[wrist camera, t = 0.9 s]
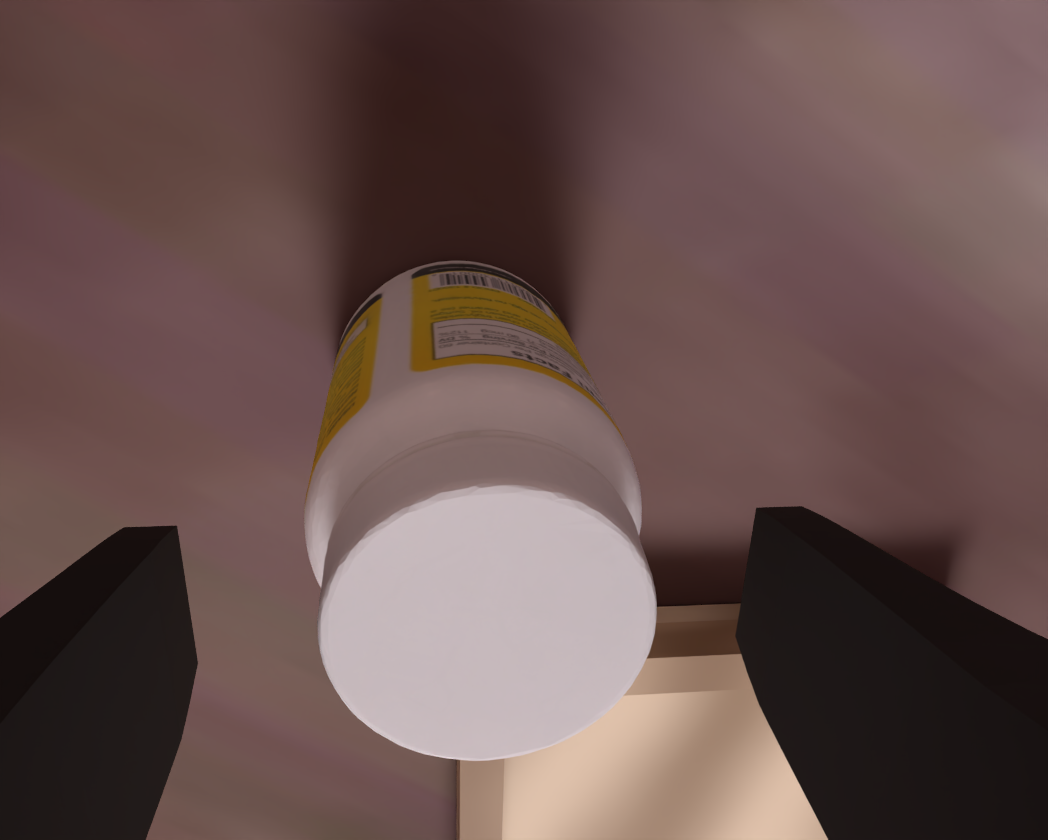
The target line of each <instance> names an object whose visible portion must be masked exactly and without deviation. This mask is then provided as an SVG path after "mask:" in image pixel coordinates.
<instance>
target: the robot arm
mask: <svg viewBox="0 0 1048 840" xmlns="http://www.w3.org/2000/svg"><path fill="white" fill-rule="evenodd" d="M735 637H736V640H737V643H738V646H739V649H740V652H741V655H742V658H743V661H744V664H745V667H746V670H747V673H748V676H749V679H750V682H751V684H752V687H753V690H754V692H755V695H756V698H757V701H758V703H759V706H760V708H761V710H762V712H763V714H764V716H765V718H766V720H767V722H768V724H769V726H770V728H771V730H772V732H773V734H774V736H775V738H776V740H777V742H778V744H779V746H780V748H781V750H782V752H783V754H784V755H785V757H786V759H787V761H788V763H789V765H790V767H791V769H792V771H793V773H794V775H795V777H796V779H797V781H798V783H799V784H800V786H801V788H802V790H803V792H804V794H805V796H806V798H807V800H808V802H809V804H810V806H811V808H812V809H813V811H814V813H815V815H816V817H817V819H818V821H819V823H820V825H821V827H822V829H823V831H824V833H825V835H826V836H827V838H828V840H1048V639H1046V638H1044V637H1042V636H1040V635H1038V634H1036V633H1033V632H1031V631H1029V630H1027V629H1025V628H1023V627H1021V626H1020V625H1018V624H1016V623H1014V622H1012V621H1010V620H1008V619H1006V618H1004V617H1002V616H1000V615H998V614H996V613H994V612H992V611H990V610H988V609H986V608H985V607H983V606H981V605H979V604H977V603H975V602H973V601H971V600H969V599H968V598H966V597H964V596H962V595H960V594H958V593H957V592H955V591H953V590H951V589H949V588H947V587H946V586H944V585H942V584H940V583H939V582H937V581H935V580H933V579H931V578H930V577H928V576H926V575H924V574H923V573H921V572H919V571H917V570H916V569H914V568H912V567H910V566H909V565H907V564H905V563H904V562H902V561H900V560H898V559H897V558H895V557H893V556H892V555H890V554H888V553H886V552H885V551H883V550H881V549H880V548H878V547H876V546H874V545H873V544H871V543H869V542H868V541H866V540H864V539H862V538H861V537H859V536H857V535H856V534H854V533H852V532H850V531H849V530H847V529H845V528H843V527H841V526H840V525H838V524H836V523H834V522H832V521H831V520H829V519H827V518H825V517H823V516H821V515H819V514H817V513H815V512H813V511H811V510H809V509H806V508H804V507H802V506H797V507H765V508H756V513H755V519H754V525H753V531H752V537H751V544H750V550H749V556H748V562H747V568H746V574H745V580H744V586H743V592H742V598H741V605H740V611H739V617H738V623H737V629H736V635H735ZM197 664H198V661H197V654H196V648H195V641H194V635H193V628H192V621H191V615H190V608H189V602H188V595H187V589H186V582H185V575H184V569H183V562H182V556H181V549H180V543H179V536H178V529H177V526H154V527H124V528H122V529H121V530H119V531H118V532H116V533H114V534H113V535H111V536H110V537H108V538H107V539H106V540H104V541H103V542H101V543H100V544H99V545H97V546H96V547H95V548H93V549H92V550H91V551H89V552H88V553H87V554H85V555H84V556H83V557H81V558H80V559H79V560H77V561H76V562H75V563H73V564H72V565H71V566H69V567H68V568H67V569H65V570H64V571H63V572H61V573H60V574H59V575H57V576H56V577H55V578H53V579H52V580H51V581H49V582H48V583H47V584H45V585H44V586H43V587H41V588H40V589H39V590H37V591H36V592H34V593H33V594H32V595H30V596H29V597H28V598H26V599H25V600H24V601H22V602H21V603H20V604H18V605H17V606H16V607H14V608H13V609H12V610H10V611H9V612H7V613H6V614H5V615H3V616H2V617H1V618H0V840H146V837H147V834H148V831H149V829H150V826H151V823H152V820H153V818H154V815H155V812H156V809H157V807H158V804H159V801H160V798H161V796H162V793H163V790H164V787H165V784H166V782H167V779H168V776H169V773H170V770H171V767H172V765H173V762H174V759H175V756H176V753H177V750H178V747H179V744H180V742H181V739H182V734H183V730H184V726H185V721H186V717H187V712H188V708H189V704H190V699H191V694H192V689H193V684H194V679H195V674H196V669H197Z"/></svg>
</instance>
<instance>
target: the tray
mask: <svg viewBox="0 0 1048 840" xmlns="http://www.w3.org/2000/svg"><path fill="white" fill-rule="evenodd" d="M740 605H741V603H738V604H715V605H691V606H667V607H657V616H656V627H655V635H654V638H653V642H652V646H651V649H650V652H649V654H648V656H647V659H646V661H645V663H644V665H643V667H642V669H641V671H640V672H639V674H638V676H637V677H636V679H635V681H634V682H633V684H632V686H631V687H630V688H629V689H628V691H627V692H626V693H625V694H624V695H623V697H622V698H621V699H620V700H619V701H618V702H617V703H616V704H615V705H614V706H613V708H612V709H610V710H609V711H608V712H607V713H606V714H605V715H604V716H602V717H601V718H600V719H598V720H597V721H596V722H594V723H593V724H592V725H590V726H589V727H587V728H586V729H584V730H583V731H581V732H580V733H578V734H576V735H574V736H572V737H570V738H568V739H566V740H565V741H563V742H560V743H558V744H555V745H553V746H550V747H547V748H545V749H541V750H538V751H535V752H532V753H529V754H525V755H521V756H516V757H510V758H504V759H496V760H486V761H468V760H457V815H456V840H828V838H827V836H826V835H825V833H824V831H823V829H822V827H821V825H820V823H819V821H818V819H817V817H816V815H815V813H814V811H813V809H812V808H811V806H810V804H809V802H808V800H807V798H806V796H805V794H804V792H803V790H802V788H801V786H800V784H799V783H798V781H797V779H796V777H795V775H794V773H793V771H792V769H791V767H790V765H789V763H788V761H787V759H786V757H785V755H784V754H783V752H782V750H781V748H780V746H779V744H778V742H777V740H776V738H775V736H774V734H773V732H772V730H771V728H770V726H769V724H768V722H767V720H766V718H765V716H764V714H763V712H762V710H761V708H760V706H759V703H758V701H757V698H756V695H755V692H754V690H753V687H752V684H751V682H750V679H749V676H748V673H747V670H746V667H745V664H744V661H743V658H742V655H741V652H740V649H739V646H738V643H737V640H736V637H735V635H736V629H737V623H738V617H739V611H740Z"/></svg>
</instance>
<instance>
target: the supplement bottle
mask: <svg viewBox="0 0 1048 840" xmlns="http://www.w3.org/2000/svg"><path fill="white" fill-rule="evenodd" d="M641 518H642V504H641V491H640V484H639V481H638V477H637V473H636V469H635V466H634V463H633V459H632V456H631V454H630V452H629V450H628V448H627V445H626V443H625V441H624V439H623V437H622V435H621V433H620V431H619V429H618V427H617V426H616V424H615V421H614V419H613V417H612V416H611V414H610V412H609V410H608V408H607V406H606V404H605V403H604V401H603V399H602V397H601V395H600V393H599V391H598V389H597V387H596V385H595V383H594V381H593V379H592V378H591V376H590V374H589V372H588V370H587V368H586V366H585V364H584V362H583V360H582V358H581V356H580V355H579V353H578V351H577V349H576V347H575V345H574V343H573V341H572V340H571V338H570V336H569V334H568V332H567V330H566V328H565V326H564V324H563V322H562V321H561V319H560V317H559V315H558V314H557V313H556V311H555V310H554V309H553V307H552V306H551V305H550V303H549V302H548V301H547V300H546V299H545V298H544V297H543V296H542V295H541V294H540V293H539V292H538V291H537V290H536V289H535V288H533V287H532V286H531V285H529V284H528V283H526V282H525V281H524V280H522V279H521V278H519V277H517V276H515V275H513V274H512V273H510V272H507V271H505V270H503V269H500V268H497V267H495V266H491V265H487V264H483V263H478V262H471V261H443V262H435V263H431V264H426V265H423V266H419V267H416V268H413V269H411V270H408V271H406V272H404V273H402V274H400V275H397V276H396V277H394V278H393V279H391V280H389V281H388V282H386V283H385V284H383V285H382V286H381V287H380V288H379V289H377V290H376V291H375V292H374V293H373V294H371V295H370V296H369V297H368V298H367V300H366V301H365V302H364V303H363V304H362V305H361V306H360V307H359V308H358V310H357V311H356V312H355V314H354V315H353V317H352V318H351V320H350V321H349V323H348V325H347V327H346V329H345V331H344V333H343V336H342V338H341V341H340V344H339V347H338V351H337V354H336V358H335V364H334V368H333V373H332V378H331V383H330V388H329V392H328V397H327V402H326V407H325V412H324V416H323V420H322V425H321V430H320V434H319V438H318V443H317V449H316V453H315V458H314V463H313V467H312V471H311V476H310V480H309V485H308V490H307V494H306V500H305V510H304V525H305V538H306V545H307V550H308V555H309V559H310V562H311V566H312V569H313V572H314V574H315V577H316V579H317V581H318V583H319V585H320V587H321V593H320V601H319V611H318V621H317V625H318V641H319V648H320V652H321V656H322V660H323V664H324V667H325V669H326V672H327V675H328V677H329V679H330V681H331V682H332V684H333V686H334V688H335V689H336V691H337V693H338V694H339V696H340V697H341V699H342V700H343V702H344V703H345V704H346V705H347V707H348V708H349V709H350V710H351V711H352V712H353V713H354V714H355V715H356V716H357V717H358V718H359V719H360V720H361V721H362V722H364V723H365V724H366V725H367V726H369V727H370V728H371V729H372V730H374V731H375V732H377V733H378V734H380V735H382V736H383V737H385V738H387V739H389V740H391V741H392V742H394V743H396V744H398V745H400V746H402V747H405V748H408V749H411V750H413V751H416V752H419V753H423V754H426V755H431V756H437V757H442V758H448V759H457V760H468V761H486V760H496V759H504V758H510V757H516V756H521V755H525V754H529V753H532V752H535V751H538V750H541V749H545V748H547V747H550V746H553V745H555V744H558V743H560V742H563V741H565V740H566V739H568V738H570V737H572V736H574V735H576V734H578V733H580V732H581V731H583V730H584V729H586V728H587V727H589V726H590V725H592V724H593V723H594V722H596V721H597V720H598V719H600V718H601V717H602V716H604V715H605V714H606V713H607V712H608V711H609V710H610V709H612V708H613V706H614V705H615V704H616V703H617V702H618V701H619V700H620V699H621V698H622V697H623V695H624V694H625V693H626V692H627V691H628V689H629V688H630V687H631V686H632V684H633V682H634V681H635V679H636V677H637V676H638V674H639V672H640V671H641V669H642V667H643V665H644V663H645V661H646V659H647V656H648V654H649V652H650V649H651V646H652V642H653V638H654V635H655V627H656V616H657V602H656V592H655V586H654V581H653V576H652V573H651V570H650V567H649V564H648V561H647V559H646V556H645V553H644V551H643V548H642V545H641V542H640V539H639V534H640V529H641Z"/></svg>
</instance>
